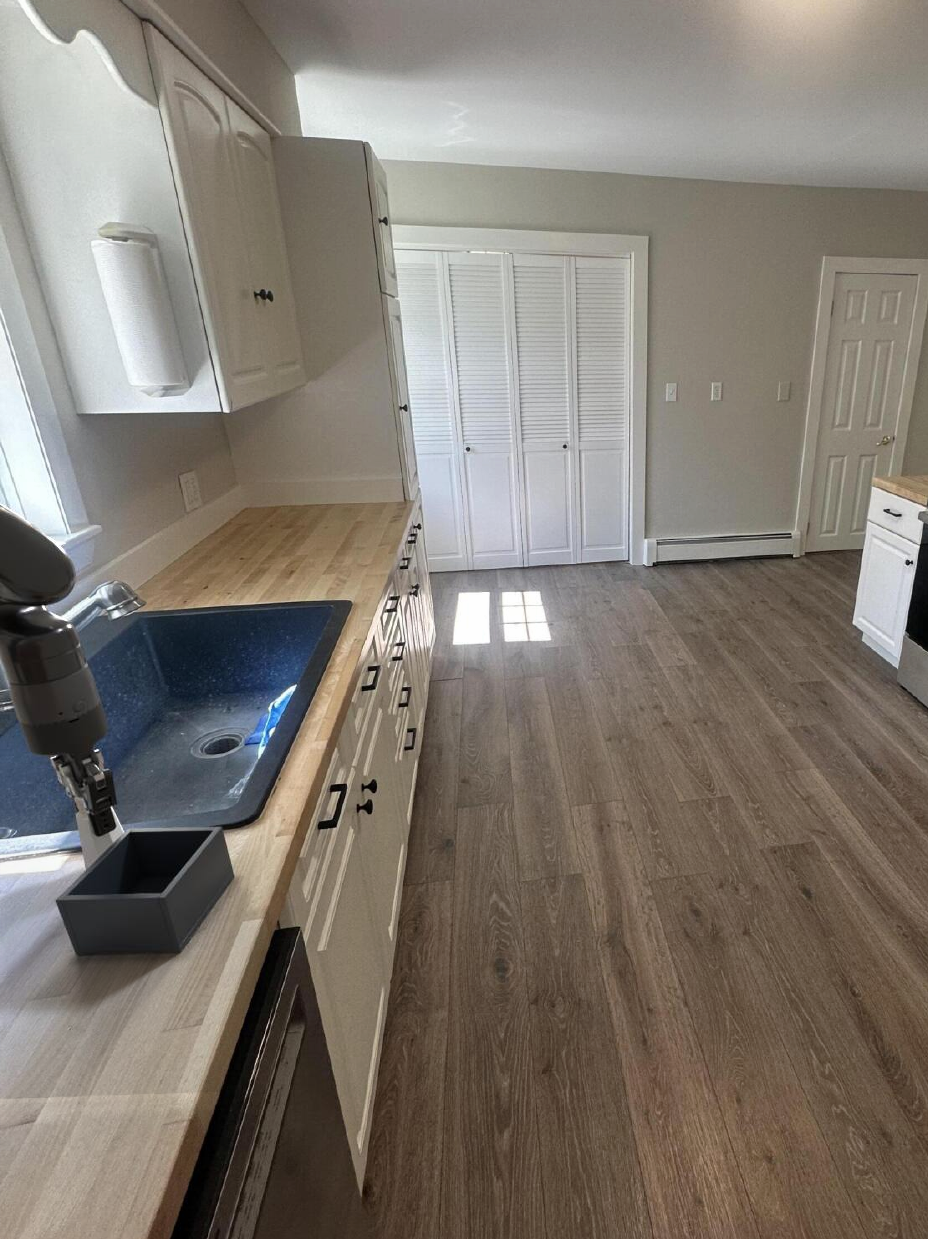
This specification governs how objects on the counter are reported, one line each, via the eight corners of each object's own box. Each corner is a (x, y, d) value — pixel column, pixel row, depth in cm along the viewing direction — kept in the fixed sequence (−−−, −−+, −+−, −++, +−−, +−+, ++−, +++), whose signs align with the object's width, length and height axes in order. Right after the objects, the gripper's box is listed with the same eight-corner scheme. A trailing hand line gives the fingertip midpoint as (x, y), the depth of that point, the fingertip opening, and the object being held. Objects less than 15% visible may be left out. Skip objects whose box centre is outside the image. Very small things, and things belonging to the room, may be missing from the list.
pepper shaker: (93, 855, 87) (70, 785, 83) (142, 845, 89) (121, 776, 85) (77, 884, 82) (51, 811, 78) (128, 873, 84) (106, 801, 80)
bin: (75, 955, 73) (54, 900, 70) (143, 878, 83) (127, 828, 81) (181, 952, 73) (164, 897, 70) (235, 876, 84) (222, 826, 81)
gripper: (-3, 701, 78) (40, 821, 84) (42, 738, 71) (85, 866, 77) (74, 678, 84) (109, 790, 90) (122, 709, 77) (157, 830, 82)
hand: (98, 824), depth 83 cm, fingers closed on pepper shaker, 4 cm apart
